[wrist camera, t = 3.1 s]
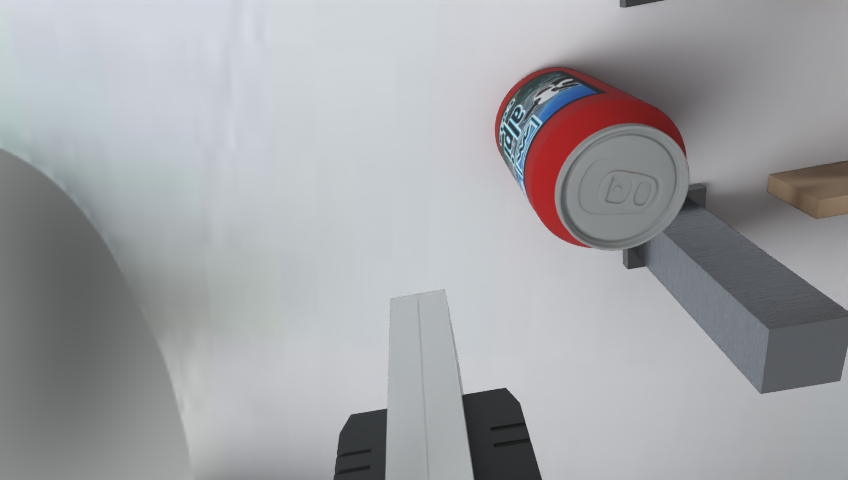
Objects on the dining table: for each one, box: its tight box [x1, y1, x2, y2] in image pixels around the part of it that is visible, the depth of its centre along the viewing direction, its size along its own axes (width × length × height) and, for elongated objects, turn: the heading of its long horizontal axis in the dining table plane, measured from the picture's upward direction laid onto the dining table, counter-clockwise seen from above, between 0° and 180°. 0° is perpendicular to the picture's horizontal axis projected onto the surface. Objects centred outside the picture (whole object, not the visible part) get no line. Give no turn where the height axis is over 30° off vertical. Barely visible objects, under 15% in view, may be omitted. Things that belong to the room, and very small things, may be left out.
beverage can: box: [495, 68, 689, 251], centre depth 27 cm, size 7×7×12 cm
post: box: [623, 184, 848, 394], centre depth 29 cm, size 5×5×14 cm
